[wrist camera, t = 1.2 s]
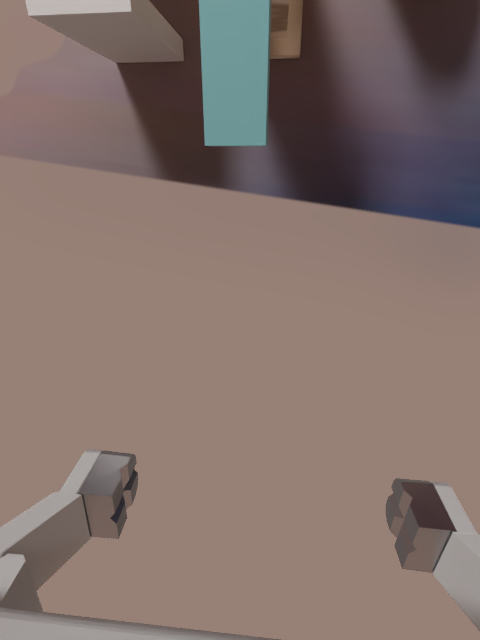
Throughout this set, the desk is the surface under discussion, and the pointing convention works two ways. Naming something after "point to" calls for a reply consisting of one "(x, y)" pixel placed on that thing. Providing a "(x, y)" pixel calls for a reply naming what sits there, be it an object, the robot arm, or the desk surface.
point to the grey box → (113, 28)
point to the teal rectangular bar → (235, 71)
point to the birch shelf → (285, 28)
